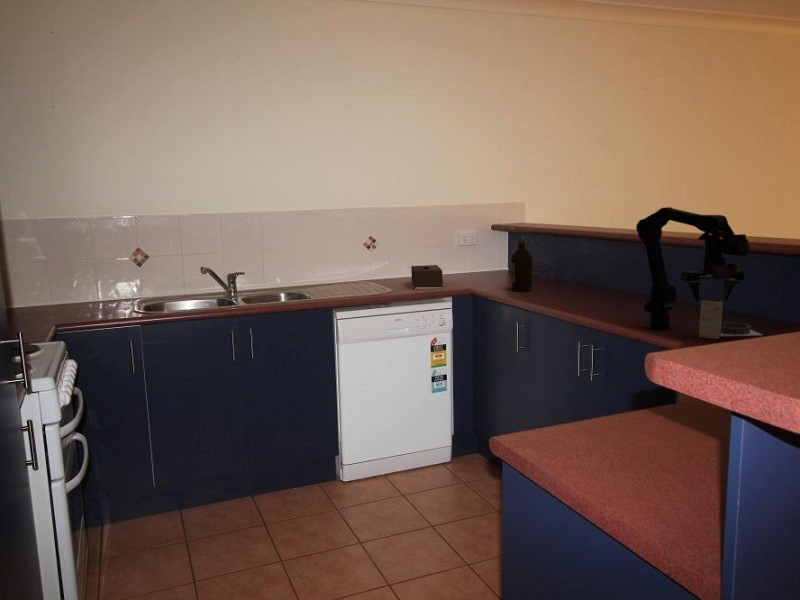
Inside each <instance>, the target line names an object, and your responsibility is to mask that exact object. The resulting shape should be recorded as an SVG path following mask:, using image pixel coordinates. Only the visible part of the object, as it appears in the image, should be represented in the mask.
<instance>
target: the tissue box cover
mask: <svg viewBox="0 0 800 600" xmlns="http://www.w3.org/2000/svg"><path fill="white" fill-rule="evenodd" d="M410 268H411V273H410V274H411V283H412V282H413V284H414V286H415V288H416V287H443V288H444V286H443V283H444V282H443V270H442V268H440V267H439V265H437V264H433V265H432V264H431V265H428V264H427V265H411V267H410ZM414 286H413V287H414ZM415 288H414V289H415Z"/></svg>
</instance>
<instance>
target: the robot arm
mask: <svg viewBox="0 0 800 600" xmlns="http://www.w3.org/2000/svg"><path fill="white" fill-rule="evenodd" d="M670 221H671V222H675V223H679V224H684V225H688V226H692V227H695V228H696V229H698V230H699V231H701V232H703V233H702V235H700V236H699V237H698V238H697V240H699V241H704V246H703V256H701V260H702V261H703V264H702V265H703V268H701V272H699V271H695V270H682V272H681V273H680V280H682V281H684V282H685V283H687V284H688V287H689V288H690V290H691V292H692V295H693V298H694V300H695V302H697V303H699V301H700V284H701V282H700V281H699V280H700V279H715V280H716V281H717V280H718V281H721V280H723V301H724V302H727V301H728V299H729V297H730V295H731V293H732V291H733V289H734V287H735V286H736V285H737V284H738V283H740V284H741V282H742V281H745V280H746V273H745V271H744V270H740V269H738V264H736V263H729V264H727V263H726V258H725V257H724V255H725V256H731V257H733V256H734V257H737V256H738V257H746V256H747V255H748V253H749V251H750V244H749V240H748V239H747V235H746V234H744V233H742V234H735V232H734V230H733V229H732V228H731V226H730V224H729V221H728V219H727V217H726V216H725V215H722V214H700V213H699V214H698V213H695V212H690V211H685V210H681V209H676V208H674V207H671V206H668V207H661V208H659V209H657V210H656V211H655V212H653V213H651V214H650V215H648V216H646V217H645V218H641V219H640V220H639V221H638V222H637V223H636V226H635V228H636V232H637V236H638V238H639V239H640V240H641V242H642V243H643V244H644V247H645V251H646V256H647V257H646V258H647V261H648V266H649V271H650V276H651V277H650V278H651V281H652V286H651V289H650V292H649V293H650V296H649V297H650V300H648V301H647V302H646V303H645V304H644V305H643V308H644V311H645V312H646V313H647V324H646V325H645V327H647V328H648V329H650V330H653V331H655V330H656V331H657V330H670V329H671V327H670V326H671V325H670V324H671V322H670V321H671V315H670V314H669V311H672V310H673V306H674V305H675V304H676V303H677V297H678V294H677V290H676V285H675V284H674V285H671V284H670V282H669V281H668V277H667V272H666V267H665V263H664V258H663V257H664V256H663V251H662V247H661V238H662V234H663V228H664V227H665V226H667V224H668V223H669V222H670Z"/></svg>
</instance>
